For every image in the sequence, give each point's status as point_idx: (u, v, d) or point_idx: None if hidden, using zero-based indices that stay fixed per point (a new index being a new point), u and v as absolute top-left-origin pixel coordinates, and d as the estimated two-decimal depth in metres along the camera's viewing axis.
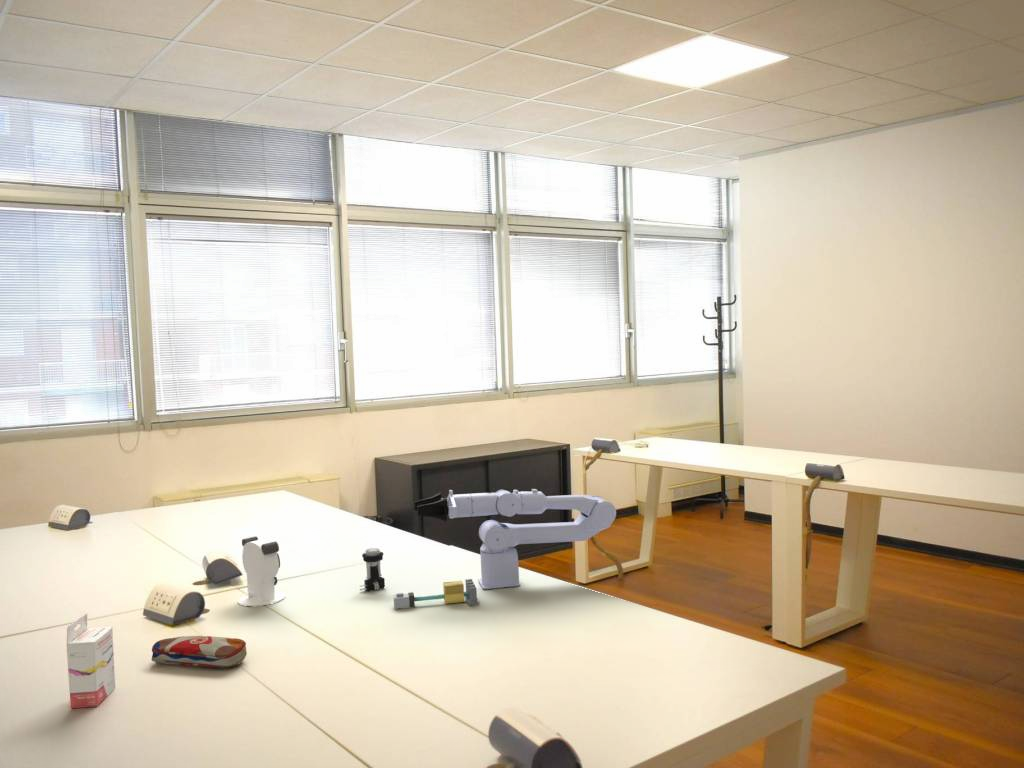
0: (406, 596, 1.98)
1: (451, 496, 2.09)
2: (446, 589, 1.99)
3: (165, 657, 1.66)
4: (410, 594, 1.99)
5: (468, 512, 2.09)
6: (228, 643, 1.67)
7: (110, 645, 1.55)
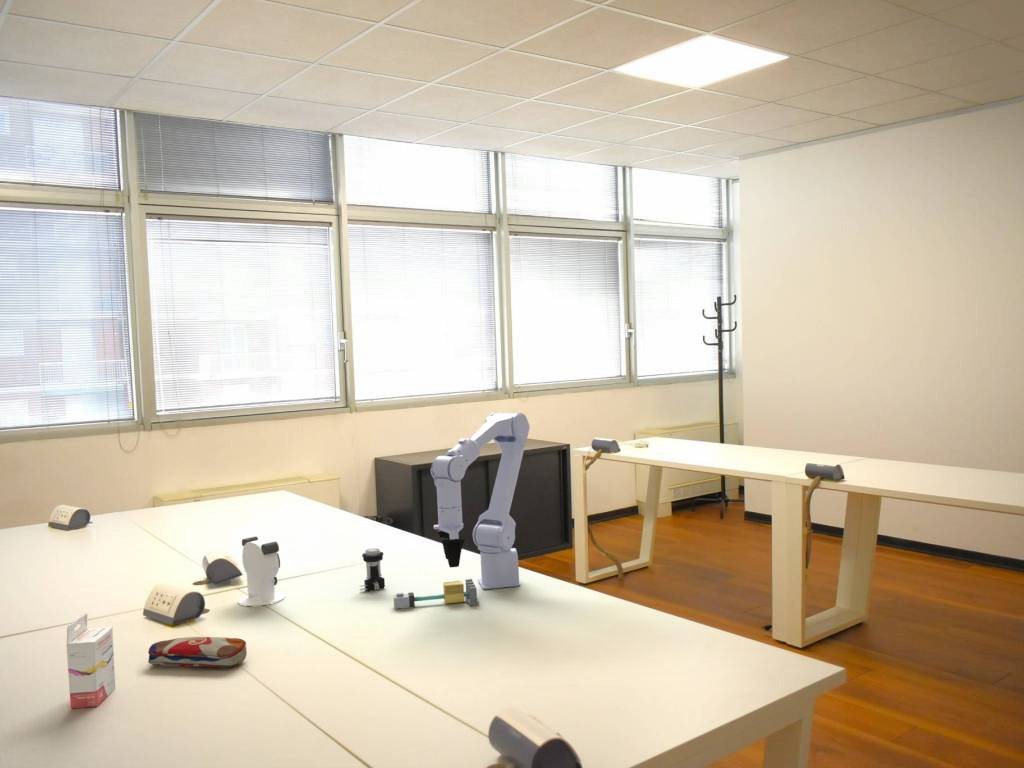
0: (406, 596, 1.98)
1: (440, 528, 1.98)
2: (446, 589, 1.99)
3: (164, 659, 1.65)
4: (410, 594, 1.99)
5: (456, 511, 1.98)
6: (228, 643, 1.67)
7: (110, 645, 1.55)
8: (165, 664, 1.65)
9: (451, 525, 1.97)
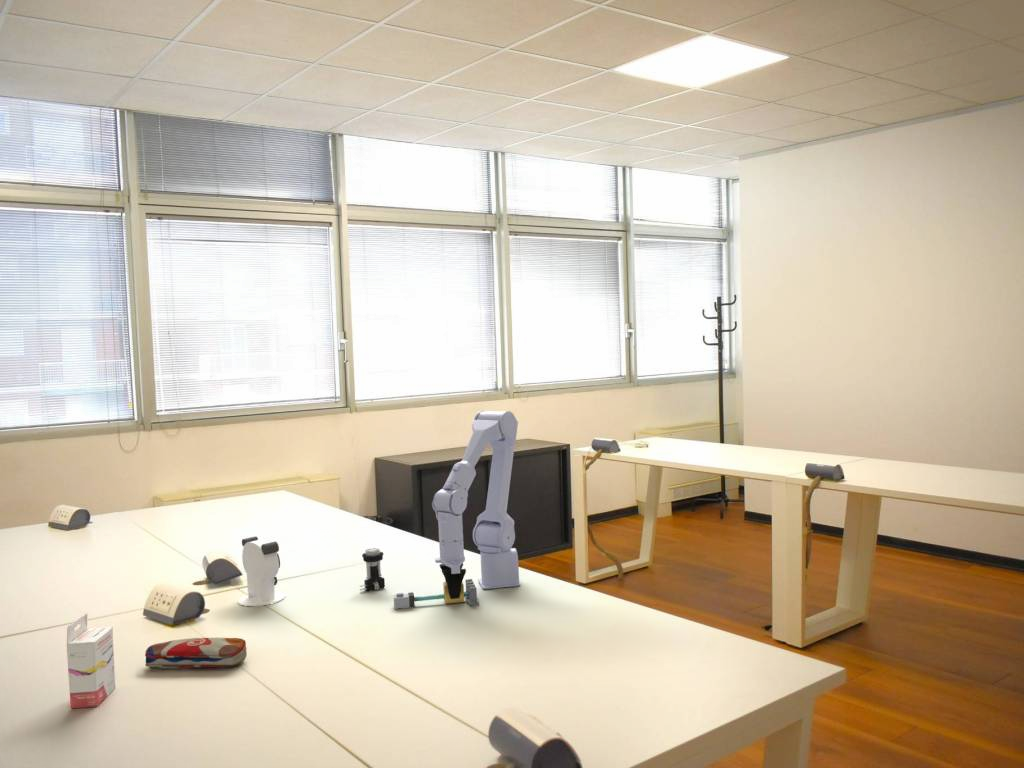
0: (406, 596, 1.98)
1: (441, 562, 1.98)
2: (446, 589, 1.99)
3: (163, 661, 1.64)
4: (410, 594, 1.99)
5: (458, 544, 1.98)
6: (228, 642, 1.67)
7: (110, 645, 1.55)
8: (164, 666, 1.64)
9: (453, 559, 1.98)
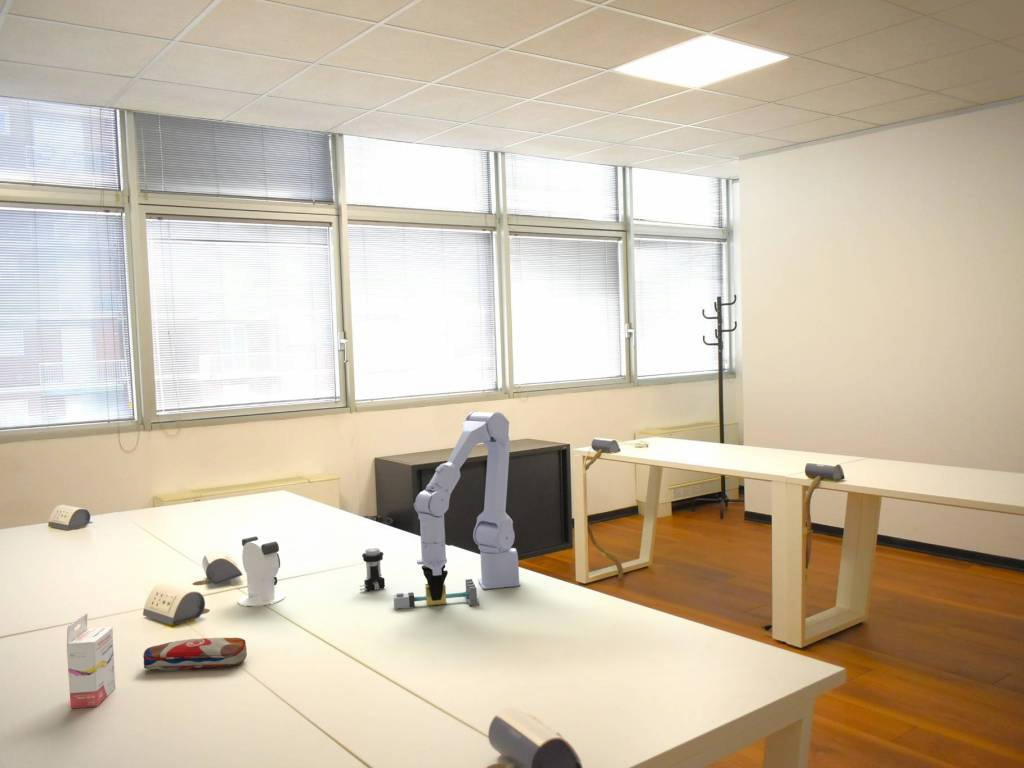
0: (406, 596, 1.98)
1: (423, 563, 1.98)
2: (428, 591, 1.98)
3: (163, 662, 1.63)
4: (410, 594, 1.99)
5: (440, 546, 1.97)
6: (228, 642, 1.67)
7: (110, 645, 1.55)
8: (164, 668, 1.63)
9: (434, 560, 1.97)
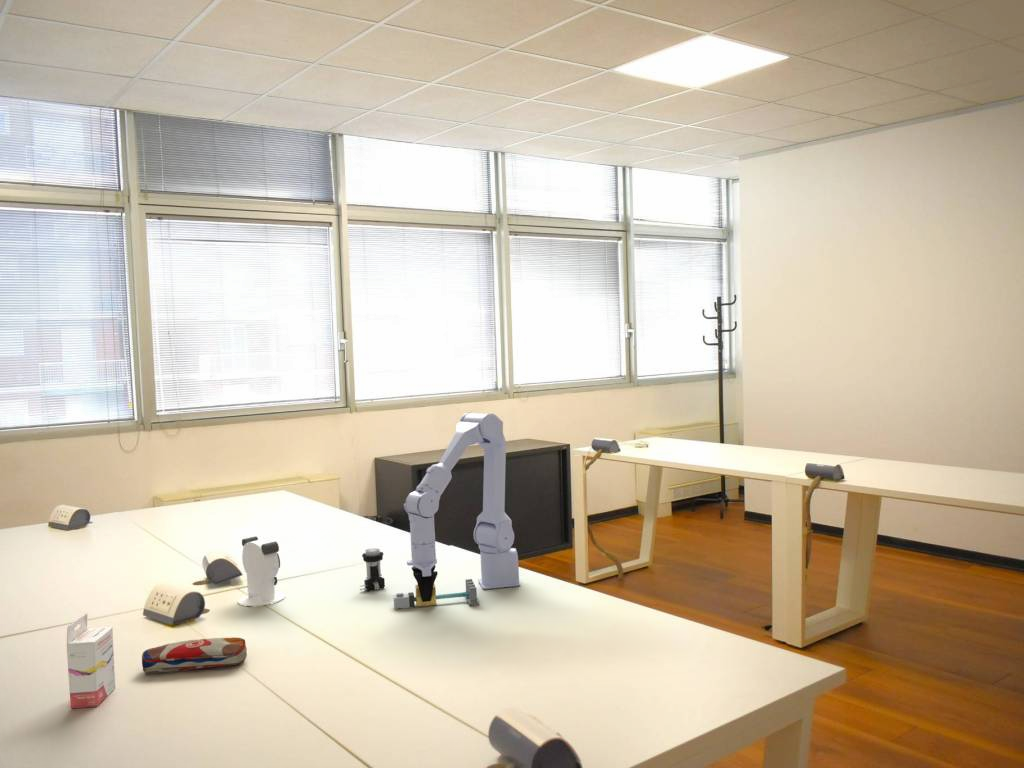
0: (406, 596, 1.98)
1: (413, 564, 1.97)
2: (418, 592, 1.97)
3: (163, 664, 1.62)
4: (410, 594, 1.99)
5: (430, 547, 1.97)
6: (228, 642, 1.68)
7: (110, 645, 1.55)
8: (164, 670, 1.62)
9: (424, 561, 1.96)
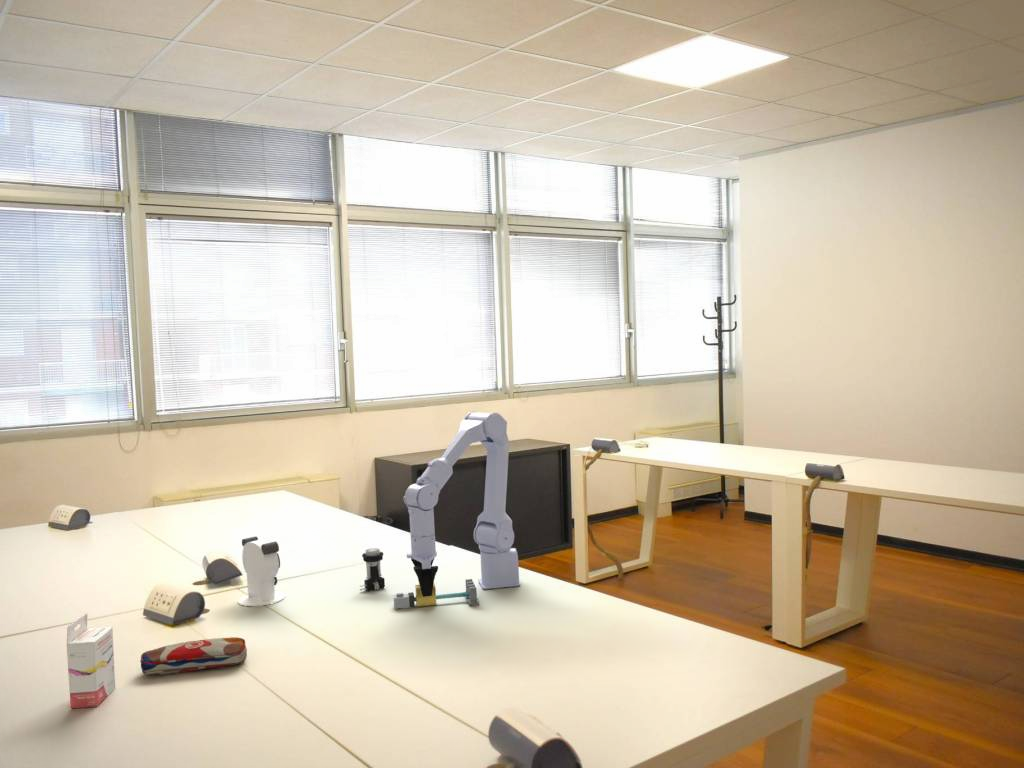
0: (406, 596, 1.98)
1: (412, 557, 1.97)
2: (418, 592, 1.97)
3: (164, 666, 1.61)
4: (410, 594, 1.99)
5: (429, 539, 1.97)
6: (228, 642, 1.68)
7: (110, 645, 1.55)
8: (164, 672, 1.61)
9: (424, 554, 1.96)
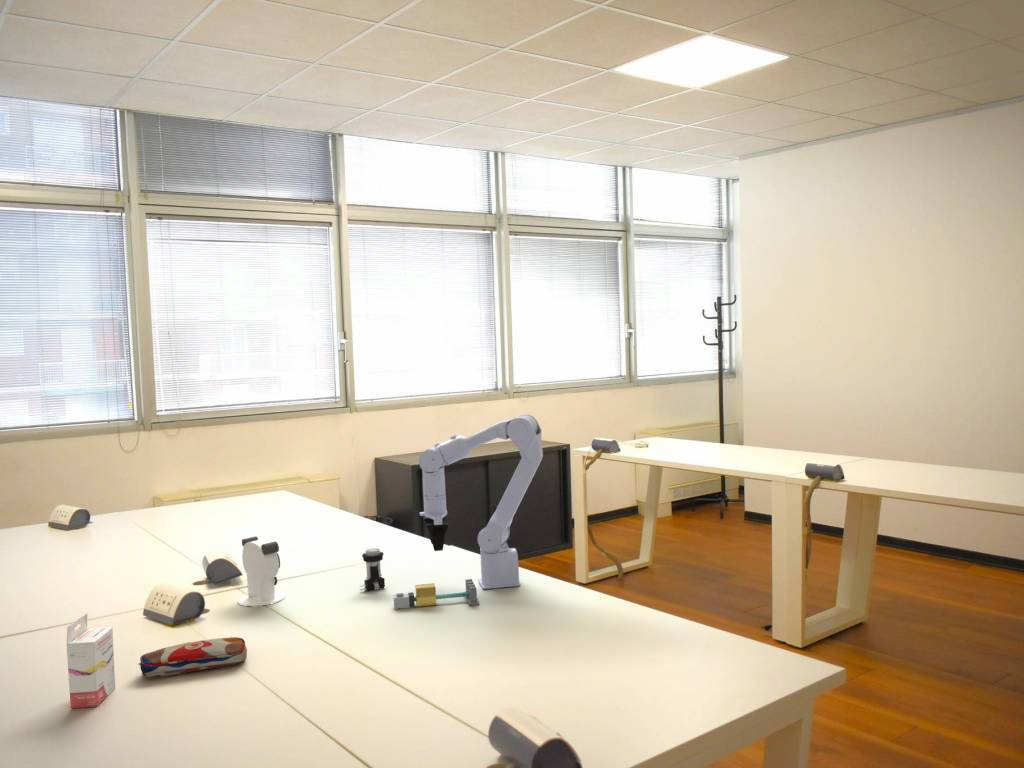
0: (406, 596, 1.98)
1: (425, 515, 2.14)
2: (418, 592, 1.97)
3: (166, 668, 1.60)
4: (410, 594, 1.99)
5: (441, 499, 2.14)
6: (228, 642, 1.68)
7: (110, 645, 1.55)
8: (166, 673, 1.60)
9: (436, 512, 2.13)
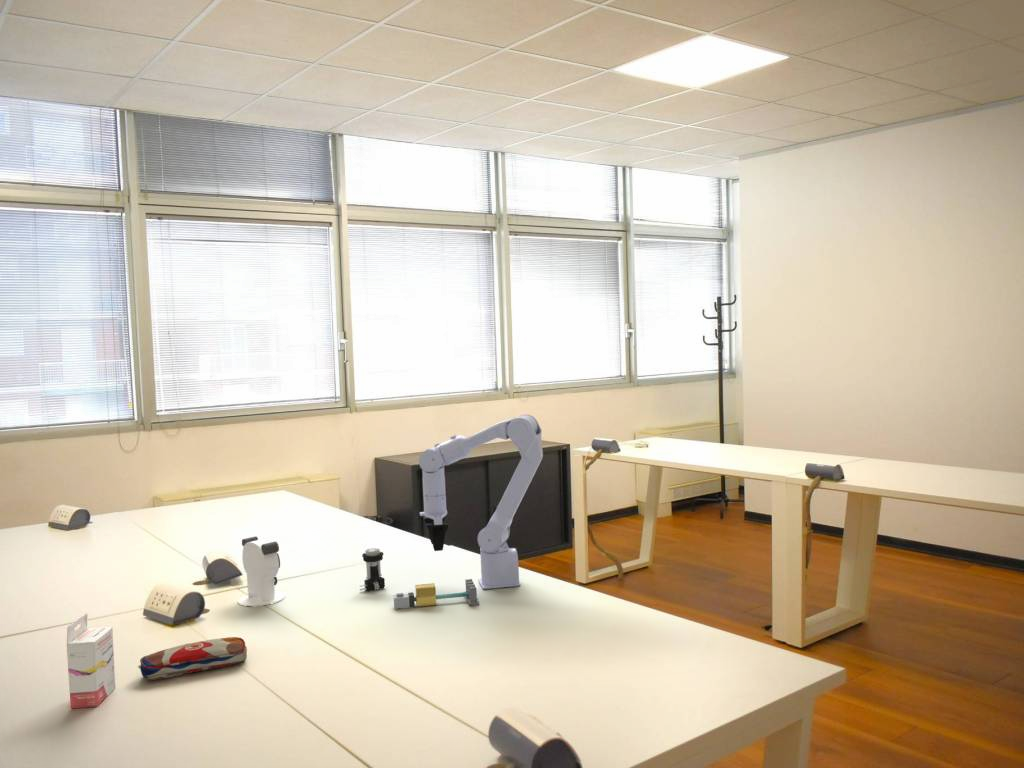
0: (406, 596, 1.98)
1: (425, 515, 2.14)
2: (418, 592, 1.97)
3: (168, 669, 1.59)
4: (410, 594, 1.99)
5: (441, 499, 2.14)
6: (227, 642, 1.68)
7: (110, 645, 1.55)
8: (168, 675, 1.59)
9: (436, 512, 2.13)
